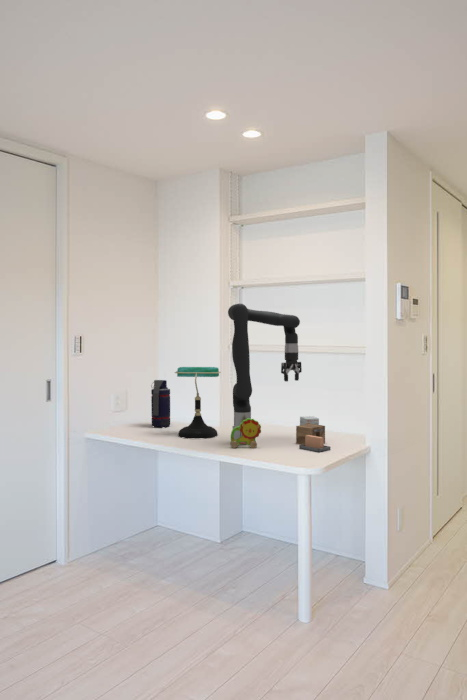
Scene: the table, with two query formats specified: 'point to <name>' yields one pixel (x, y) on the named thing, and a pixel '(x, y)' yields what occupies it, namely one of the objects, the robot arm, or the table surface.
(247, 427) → the toy lion
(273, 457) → the table surface
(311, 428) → the cardboard shipping carton
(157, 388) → the grenade
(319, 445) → the tan rectangular block
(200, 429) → the banker's lamp
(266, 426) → the table surface
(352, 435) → the table surface
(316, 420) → the ink box
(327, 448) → the tray
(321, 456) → the table surface
